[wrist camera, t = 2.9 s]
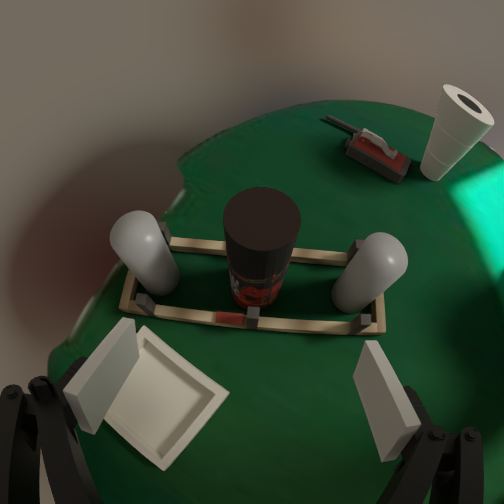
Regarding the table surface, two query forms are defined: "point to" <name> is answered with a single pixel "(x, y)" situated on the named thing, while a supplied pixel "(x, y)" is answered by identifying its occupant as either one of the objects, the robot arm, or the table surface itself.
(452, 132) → the white tapered cylinder
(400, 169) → the walkie-talkie
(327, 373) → the table surface
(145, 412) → the tray
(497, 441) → the table surface
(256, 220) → the deodorant
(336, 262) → the frame
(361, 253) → the cylinder
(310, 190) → the table surface
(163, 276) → the cylinder
